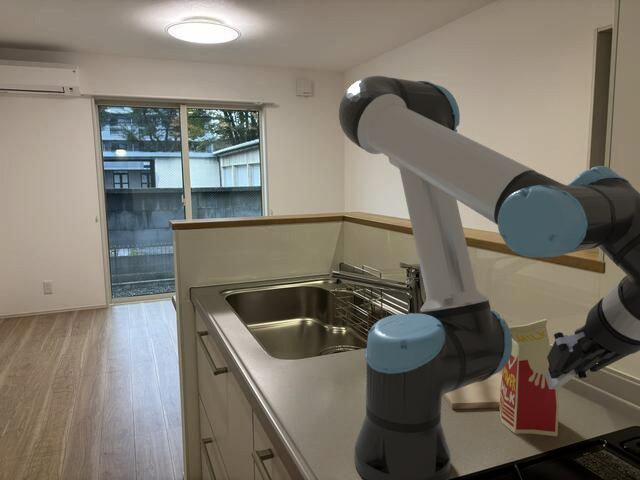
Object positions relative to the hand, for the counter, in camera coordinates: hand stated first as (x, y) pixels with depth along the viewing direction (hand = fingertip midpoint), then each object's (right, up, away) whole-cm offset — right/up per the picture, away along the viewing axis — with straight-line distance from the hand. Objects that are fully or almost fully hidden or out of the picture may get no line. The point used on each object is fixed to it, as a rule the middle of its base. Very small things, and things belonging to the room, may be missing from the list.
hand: (551, 381), depth 80 cm
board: (-5, -8, +21) cm, 23 cm away
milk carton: (-1, -10, +8) cm, 13 cm away
